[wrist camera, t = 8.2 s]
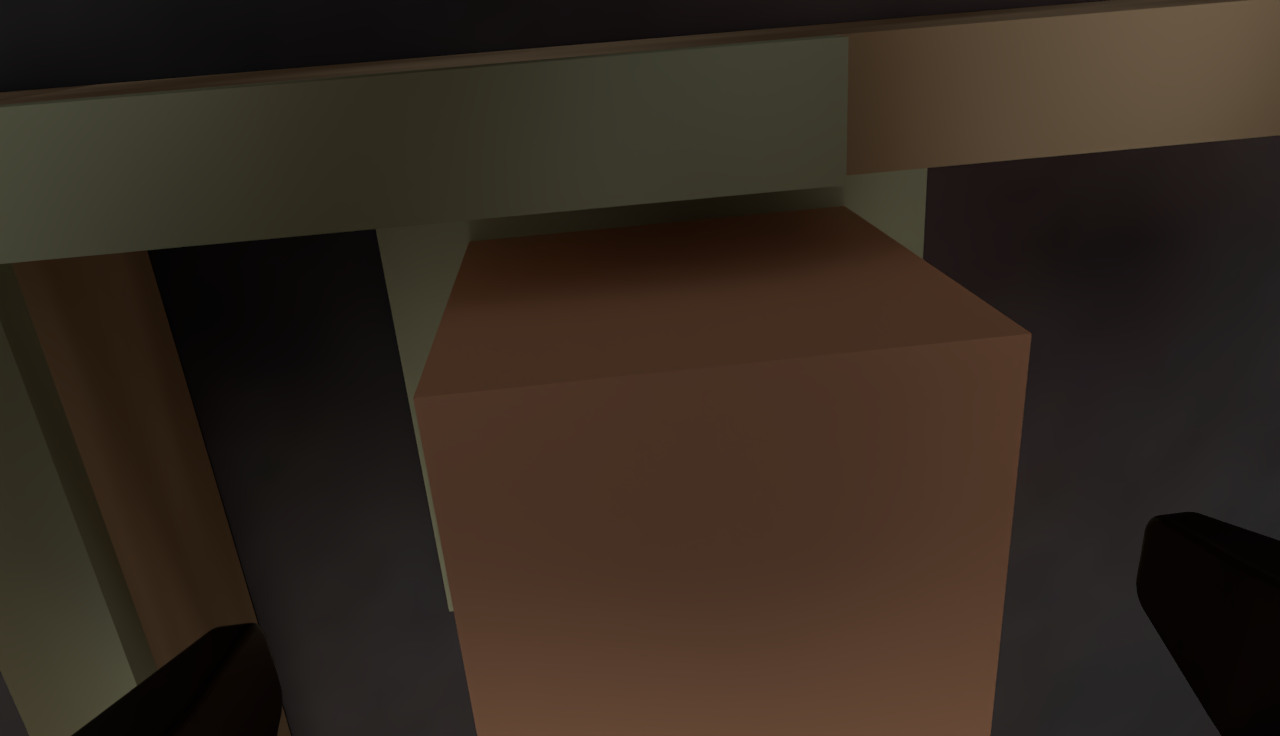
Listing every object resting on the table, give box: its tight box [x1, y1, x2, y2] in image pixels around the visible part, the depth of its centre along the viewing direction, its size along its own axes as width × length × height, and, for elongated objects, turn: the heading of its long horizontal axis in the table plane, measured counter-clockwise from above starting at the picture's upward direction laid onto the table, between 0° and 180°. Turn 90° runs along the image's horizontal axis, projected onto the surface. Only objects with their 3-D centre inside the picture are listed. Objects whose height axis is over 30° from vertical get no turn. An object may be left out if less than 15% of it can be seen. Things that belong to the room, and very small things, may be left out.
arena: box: [0, 0, 1280, 736], centre depth 14 cm, size 20×17×4 cm
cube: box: [413, 206, 1032, 736], centre depth 11 cm, size 6×6×6 cm
